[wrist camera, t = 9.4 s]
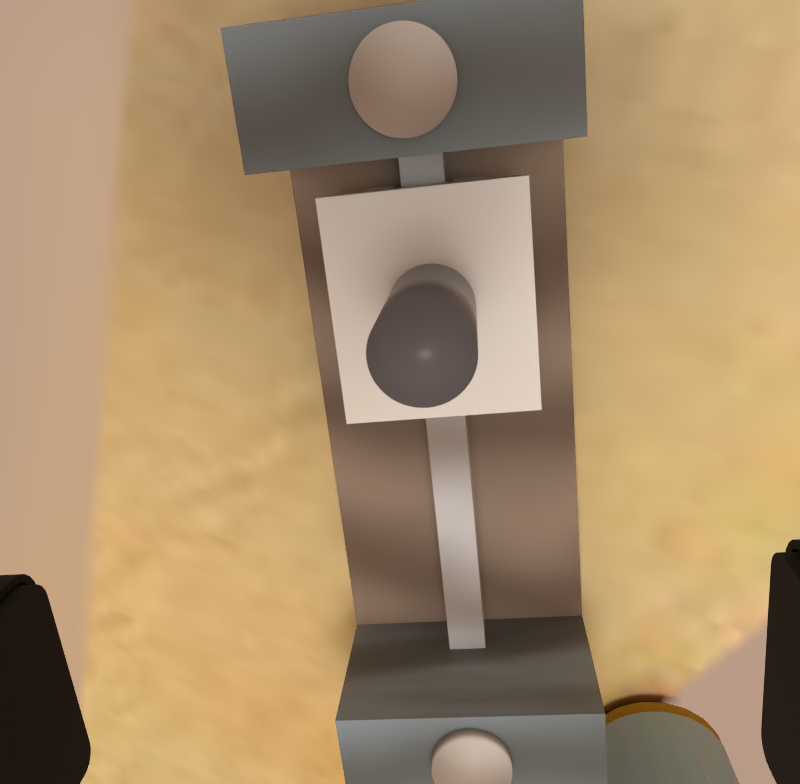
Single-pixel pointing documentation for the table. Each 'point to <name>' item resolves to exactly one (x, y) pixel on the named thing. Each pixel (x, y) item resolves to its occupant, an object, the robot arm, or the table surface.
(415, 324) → the carriage
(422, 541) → the rail track
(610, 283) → the table surface
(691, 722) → the bottle
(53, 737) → the robot arm
